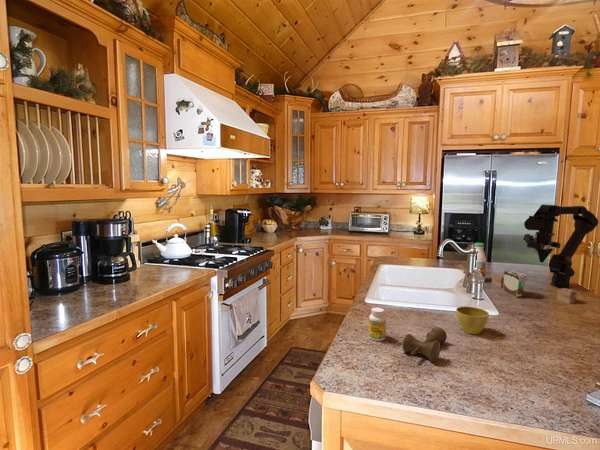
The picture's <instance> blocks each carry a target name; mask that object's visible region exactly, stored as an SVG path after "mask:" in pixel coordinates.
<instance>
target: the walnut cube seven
mask: <svg viewBox="0 0 600 450" xmlns="http://www.w3.org/2000/svg"><path fill="white" fill-rule="evenodd" d="M577 295H578V291H577V290H572V289H571V288H558V289H557V294H556V301H558V302H561V303H565V304H569V305H570V304H575V303H577Z"/></svg>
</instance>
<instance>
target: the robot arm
mask: <svg viewBox="0 0 600 450" xmlns="http://www.w3.org/2000/svg"><path fill="white" fill-rule="evenodd" d="M561 215H572V220H573V221H574V224H573V225H574V226H573V227H574V230H573V232H572V233H571V235H570V236H569V238H568V240H567V242H566V243H565V244H564V246H563V248H562V250H560V252H559V253H558V254H555V253H553V254H552V256H551V258H550V259H549V262H548V268H549V272H550V273H552V276H551V282H549V284H550V285H551V286H553V287H555V288H558V289H562V288H566V289H572V287H571V286H570V284H571V283H570V282H571V281H570V280H571V277H574V275H575V274H576V272H575V270H574V269H573V267H572V265H573V261H572V258H573V256H574V255H575V253H576V251H577V250H578V249H579V247H580V245H581V243H582V241H583V240H584V239H585V238H586V236H587V234H589V233H591V232H593V231H594V230H595V229H596V228H597V226H598V224H599V219H598V218H597V217H596V215H595V213H593V212H591V211H590V210H588V209H587V207H585V206H583V205H571V206H570V205H569V206H567V205H565V206H563V205H562V206H560V205H555V204H541V205H540V206H539V207H538V209H537V210H536V212H535V213H534V214H533V215H529V216H528V218H527V219H526V220H525V221H524V222H523V223H524V224H523V225H524V228H525V230H527V231H536V232H535V234H532V235H531V234H530V233H527V234H524V235H523V239H522V240H523V241H525V243H526V248H530V249H535V251H536V252H537V255H538V259H539V262H540V263H544V262H545V261H546V259H547V258H548V257H549V256H550V254H551V253H552V252H553V251H554V248H555V249H561V243H560V242H558V241H554V240H553V236H555V233H554V225H555V223H556V222H557V223H558V222H559V219H557V218H556V217H559V216H561Z"/></svg>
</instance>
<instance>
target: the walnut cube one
mask: <svg viewBox="0 0 600 450" xmlns="http://www.w3.org/2000/svg"><path fill="white" fill-rule="evenodd" d="M491 286H496V287H499V288H504V275H503V274H499V273H498V274H492V277H491Z"/></svg>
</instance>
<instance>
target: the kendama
mask: <svg viewBox="0 0 600 450" xmlns="http://www.w3.org/2000/svg"><path fill="white" fill-rule="evenodd" d="M447 339H448V336H447V333H446V331H445V330H444V329H443V328H441V327H438V326H435V327H432V328H431V330H430V331H428V332H427V333H426V339H425V340H424V341H421V340H419V339H417V338H415V337H414V335H412V334H411V333H407V334H406V335H405V336H404V338H403V340H402V351H403V352H404V353H405V354H406V353H407V354H409V353H410V355H415V354H417V353H419V354H422V355H424V356H425V357H426V358H427V359H428V360H429V361H430V362H431V363H435V362H437V361H438V360H439V356H440V354H441V344H444V343H445V342H446V341H447Z"/></svg>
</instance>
